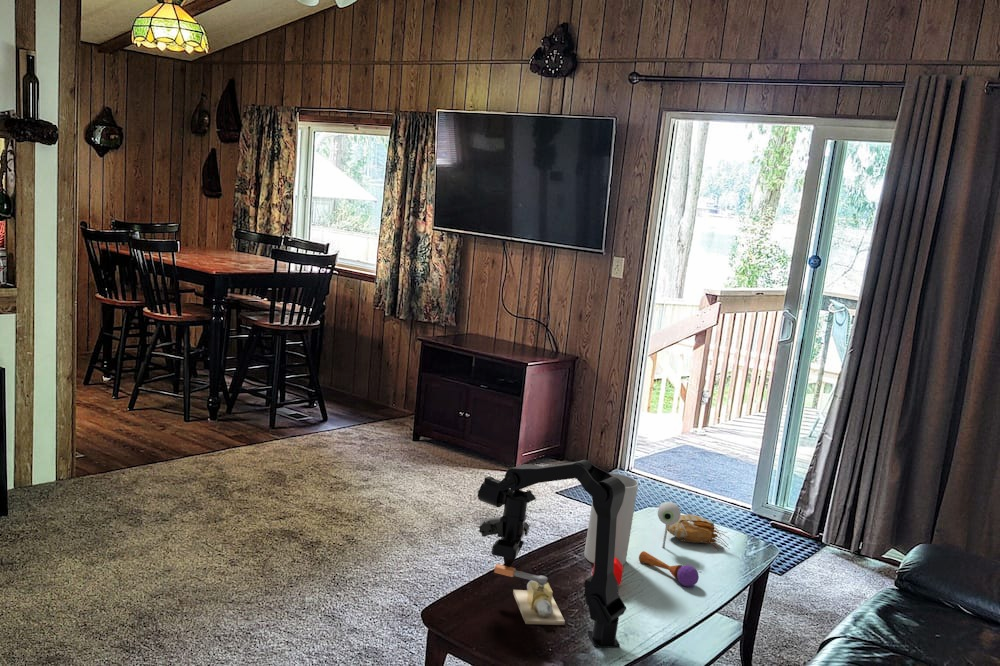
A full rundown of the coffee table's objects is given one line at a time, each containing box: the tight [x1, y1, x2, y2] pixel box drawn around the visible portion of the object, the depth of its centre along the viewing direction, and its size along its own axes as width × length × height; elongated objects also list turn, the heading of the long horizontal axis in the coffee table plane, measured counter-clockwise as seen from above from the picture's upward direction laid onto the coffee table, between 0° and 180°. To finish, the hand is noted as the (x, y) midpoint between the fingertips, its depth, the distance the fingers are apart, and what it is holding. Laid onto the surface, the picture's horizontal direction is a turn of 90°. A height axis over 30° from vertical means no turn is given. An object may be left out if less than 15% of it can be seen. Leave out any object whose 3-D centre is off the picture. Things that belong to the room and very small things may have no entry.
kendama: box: [638, 550, 700, 588], centre depth 252 cm, size 6×6×20 cm
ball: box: [592, 558, 624, 586], centre depth 240 cm, size 8×8×8 cm
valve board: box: [512, 589, 566, 626], centre depth 221 cm, size 16×10×1 cm, turn 10°
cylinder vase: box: [583, 472, 639, 566], centre depth 256 cm, size 12×12×25 cm
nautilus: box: [667, 514, 729, 551], centre depth 280 cm, size 8×22×15 cm
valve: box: [526, 580, 554, 619], centre depth 221 cm, size 14×5×6 cm, turn 10°
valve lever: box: [493, 563, 548, 585], centre depth 221 cm, size 14×3×2 cm, turn 73°
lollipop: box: [657, 501, 682, 549], centre depth 272 cm, size 7×7×15 cm
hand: (507, 569), depth 224 cm, fingers closed
